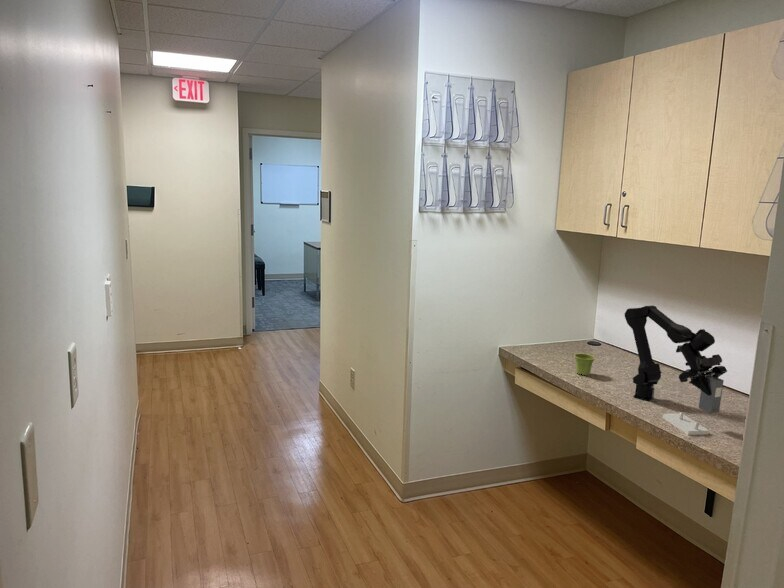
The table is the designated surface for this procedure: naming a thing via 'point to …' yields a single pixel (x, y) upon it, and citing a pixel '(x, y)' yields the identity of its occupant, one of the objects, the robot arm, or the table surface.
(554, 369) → the table surface
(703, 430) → the dock
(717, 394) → the block
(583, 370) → the plant pot
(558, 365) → the table surface
